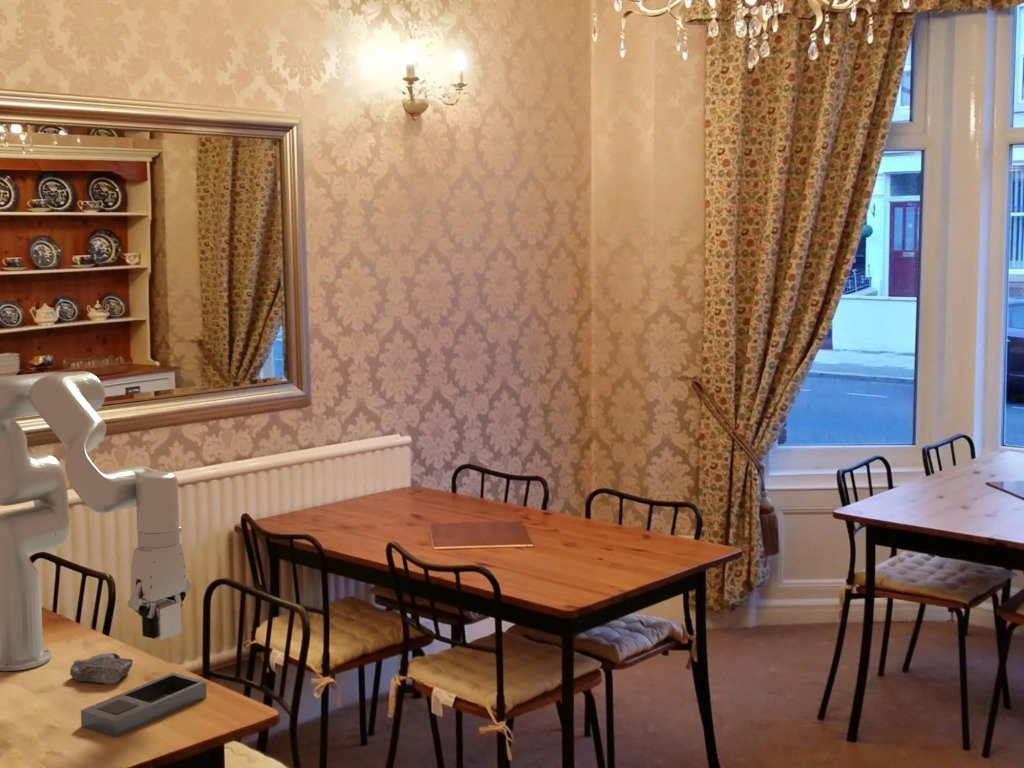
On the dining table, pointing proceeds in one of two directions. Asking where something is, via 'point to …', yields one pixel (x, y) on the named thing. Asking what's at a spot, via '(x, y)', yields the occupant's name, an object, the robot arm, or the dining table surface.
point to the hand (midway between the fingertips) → (161, 631)
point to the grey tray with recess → (143, 704)
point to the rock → (101, 668)
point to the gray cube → (167, 618)
